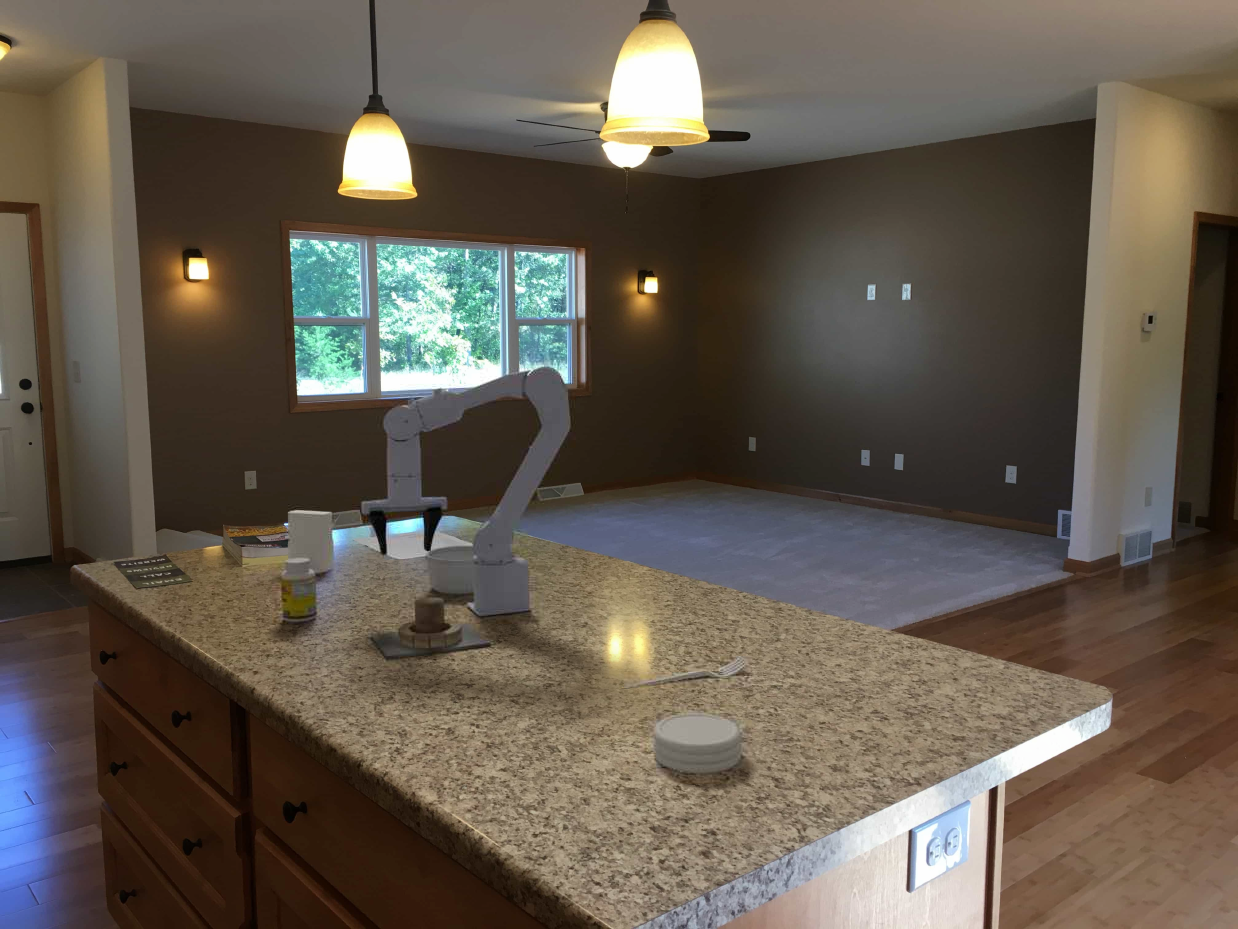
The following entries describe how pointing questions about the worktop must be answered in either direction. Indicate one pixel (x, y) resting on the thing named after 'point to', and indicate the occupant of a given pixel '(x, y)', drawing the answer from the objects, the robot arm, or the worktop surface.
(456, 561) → the ramekin
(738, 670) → the fork
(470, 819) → the worktop surface
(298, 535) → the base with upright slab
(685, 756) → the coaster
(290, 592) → the supplement bottle
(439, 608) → the walnut peg
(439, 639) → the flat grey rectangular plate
